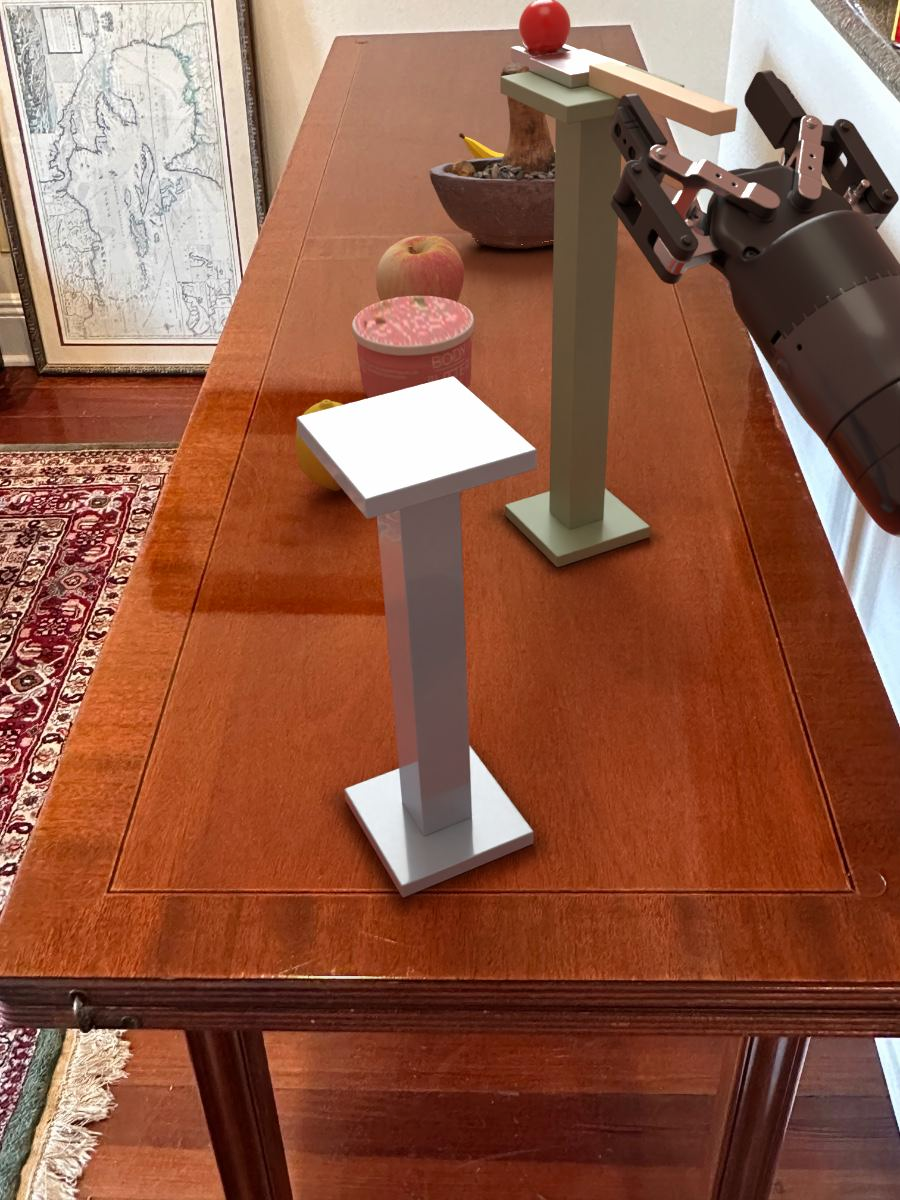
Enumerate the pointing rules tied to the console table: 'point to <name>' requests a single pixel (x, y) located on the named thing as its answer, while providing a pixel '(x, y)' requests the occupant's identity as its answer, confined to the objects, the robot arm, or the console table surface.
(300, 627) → the console table surface
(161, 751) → the console table surface
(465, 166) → the planter
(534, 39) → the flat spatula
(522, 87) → the tall stand
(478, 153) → the banana
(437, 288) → the apple
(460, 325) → the container
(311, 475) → the lemon
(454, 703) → the low stand
